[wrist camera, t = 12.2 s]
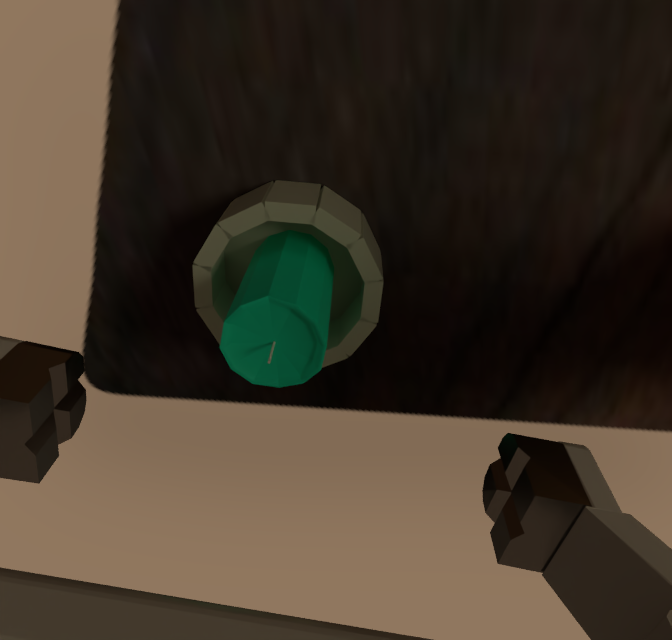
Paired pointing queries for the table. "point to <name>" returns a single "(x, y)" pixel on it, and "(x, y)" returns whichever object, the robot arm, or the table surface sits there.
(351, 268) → the dish
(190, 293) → the table surface
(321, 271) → the candle
